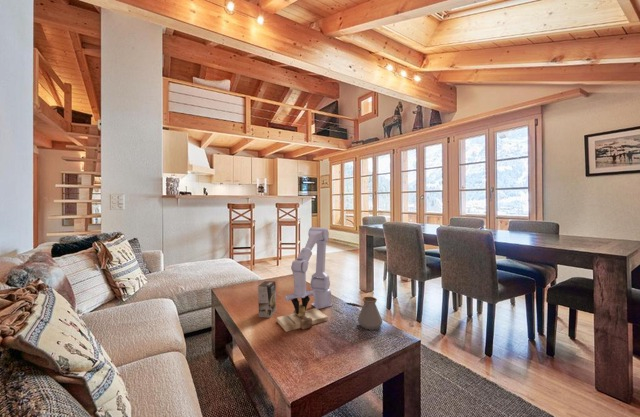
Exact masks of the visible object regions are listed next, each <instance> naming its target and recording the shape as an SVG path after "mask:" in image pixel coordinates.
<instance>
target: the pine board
mask: <svg viewBox="0 0 640 417" xmlns="http://www.w3.org/2000/svg"><path fill="white" fill-rule="evenodd" d="M304 316H305V317H307V318H309V317H310V318H312V326H313V325H316V324H320V323H323V322H327V321H329V318H328V317H329V316H328V315H326V314H325V313H324V312H322V311H321V310H319V309H317V308H315V307H314V308H310V309H306V311H305V315H304ZM276 322H277V323H278V325H280V327H281V328H282V329H283V330H284V331H285V332H286V333H287V332H291V331H294V330H295V331H296V330H298V329H301V319H300V318H299V317H298V316H297V315H296V314H294V312H293V313H289V314H285V315H281V316H277V317H276Z"/></svg>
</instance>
